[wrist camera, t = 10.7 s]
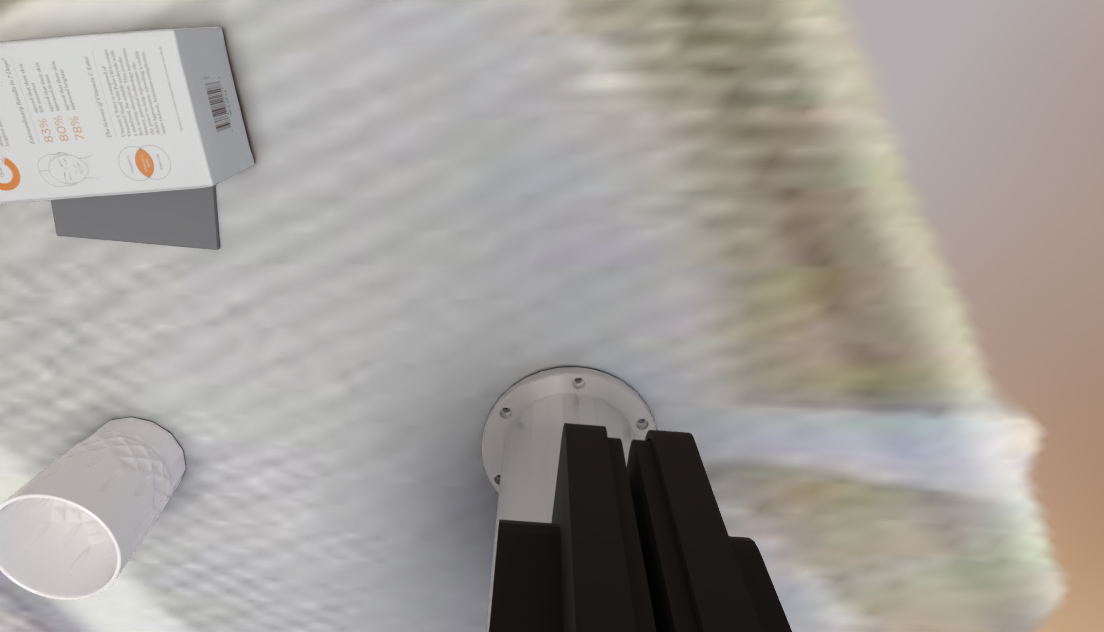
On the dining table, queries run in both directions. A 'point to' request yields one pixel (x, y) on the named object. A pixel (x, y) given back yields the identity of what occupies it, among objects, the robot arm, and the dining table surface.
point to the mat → (143, 218)
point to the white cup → (89, 510)
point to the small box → (118, 114)
